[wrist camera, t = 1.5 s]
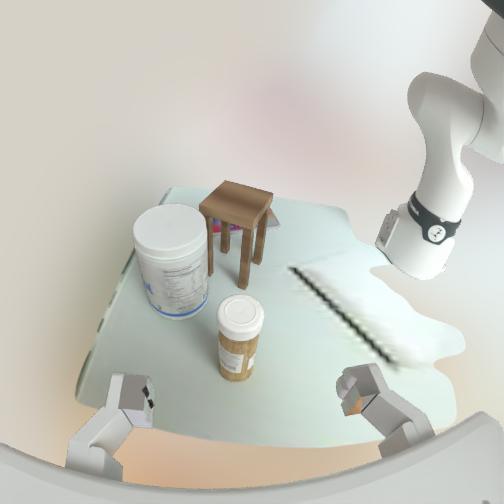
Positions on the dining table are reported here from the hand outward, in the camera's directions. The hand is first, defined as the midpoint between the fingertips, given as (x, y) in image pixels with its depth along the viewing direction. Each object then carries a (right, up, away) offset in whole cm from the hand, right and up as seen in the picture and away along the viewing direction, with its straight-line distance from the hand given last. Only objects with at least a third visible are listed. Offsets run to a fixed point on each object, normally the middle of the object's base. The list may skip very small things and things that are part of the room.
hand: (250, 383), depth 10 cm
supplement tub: (-11, -2, +33) cm, 35 cm away
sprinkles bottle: (-2, -10, +25) cm, 27 cm away
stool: (-3, +3, +39) cm, 39 cm away
